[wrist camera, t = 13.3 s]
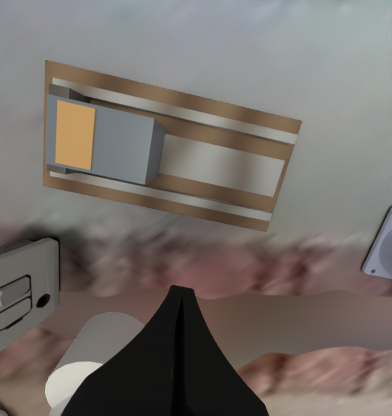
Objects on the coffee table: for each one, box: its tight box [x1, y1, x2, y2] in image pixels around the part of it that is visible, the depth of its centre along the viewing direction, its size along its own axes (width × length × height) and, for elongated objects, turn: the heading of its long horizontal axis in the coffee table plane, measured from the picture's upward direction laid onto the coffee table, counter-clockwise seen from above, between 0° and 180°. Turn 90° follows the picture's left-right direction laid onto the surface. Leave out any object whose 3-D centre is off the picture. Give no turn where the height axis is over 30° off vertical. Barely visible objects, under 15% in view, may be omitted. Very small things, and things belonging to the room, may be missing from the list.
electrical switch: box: [0, 238, 59, 351], centre depth 18 cm, size 9×5×9 cm, turn 171°
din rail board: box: [43, 60, 302, 232], centre depth 17 cm, size 23×11×4 cm, turn 78°
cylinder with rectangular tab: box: [45, 312, 145, 416], centre depth 19 cm, size 9×9×12 cm
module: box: [46, 94, 166, 185], centre depth 16 cm, size 7×4×5 cm, turn 78°
